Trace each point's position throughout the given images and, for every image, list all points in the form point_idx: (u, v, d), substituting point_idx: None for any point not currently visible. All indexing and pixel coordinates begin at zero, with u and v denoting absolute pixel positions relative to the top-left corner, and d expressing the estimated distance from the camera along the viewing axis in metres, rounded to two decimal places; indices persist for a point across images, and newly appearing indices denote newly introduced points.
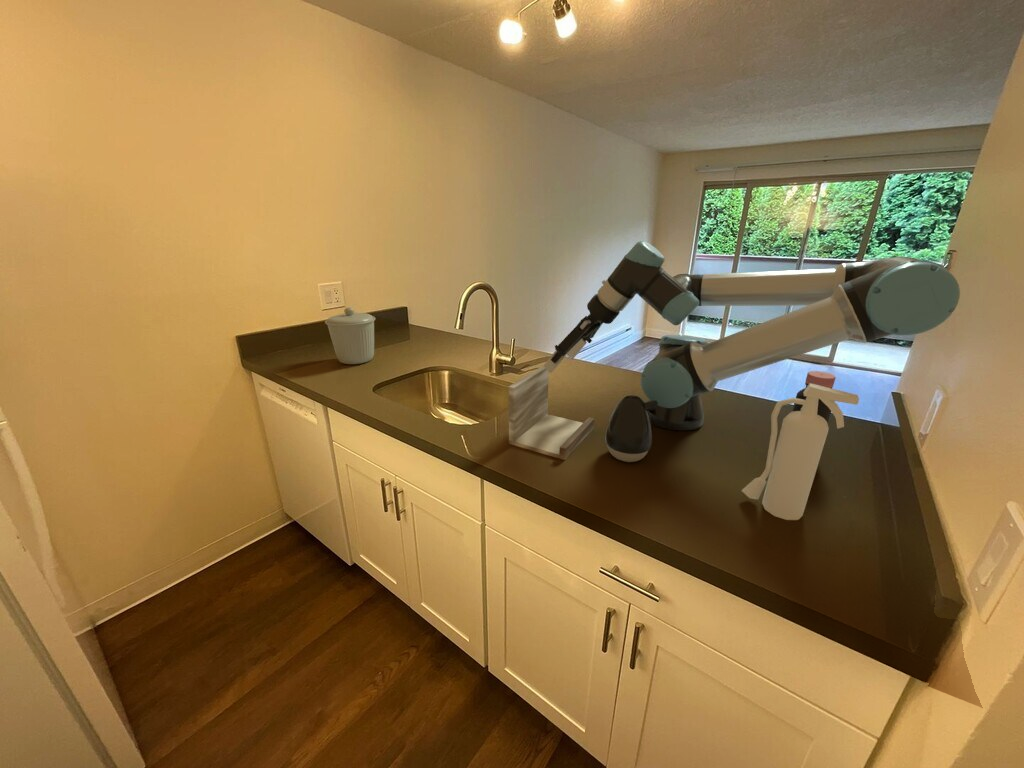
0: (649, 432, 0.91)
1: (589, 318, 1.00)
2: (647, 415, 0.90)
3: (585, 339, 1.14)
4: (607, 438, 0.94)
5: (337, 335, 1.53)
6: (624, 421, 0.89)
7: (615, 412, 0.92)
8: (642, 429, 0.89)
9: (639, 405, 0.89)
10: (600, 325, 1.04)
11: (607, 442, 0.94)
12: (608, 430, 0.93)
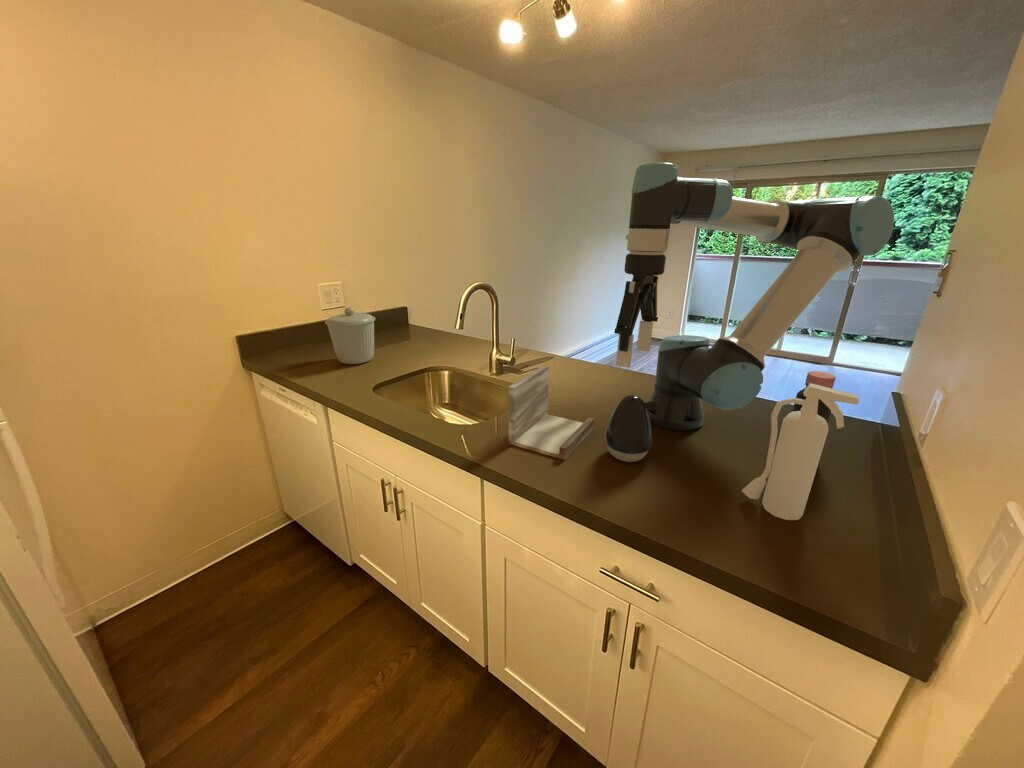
0: (649, 432, 0.91)
1: (635, 279, 0.80)
2: (647, 415, 0.90)
3: (649, 319, 0.91)
4: (607, 438, 0.94)
5: (337, 335, 1.53)
6: (624, 421, 0.89)
7: (615, 412, 0.92)
8: (642, 429, 0.89)
9: (639, 405, 0.89)
10: (654, 285, 0.83)
11: (607, 442, 0.94)
12: (608, 430, 0.93)
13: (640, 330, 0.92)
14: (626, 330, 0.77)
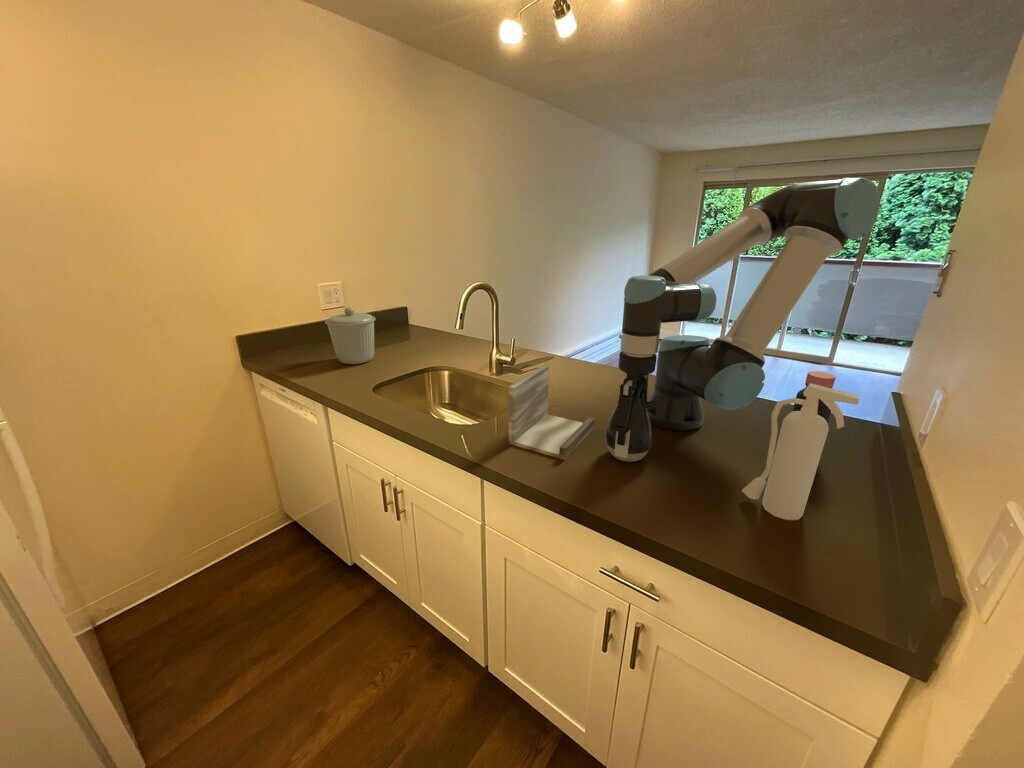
0: (649, 432, 0.91)
1: (628, 379, 0.86)
2: (647, 415, 0.90)
3: None
4: (607, 438, 0.94)
5: (337, 335, 1.53)
6: None
7: (615, 412, 0.92)
8: (642, 429, 0.89)
9: (639, 405, 0.89)
10: (646, 379, 0.90)
11: (607, 442, 0.94)
12: (608, 430, 0.93)
13: None
14: (623, 430, 0.85)
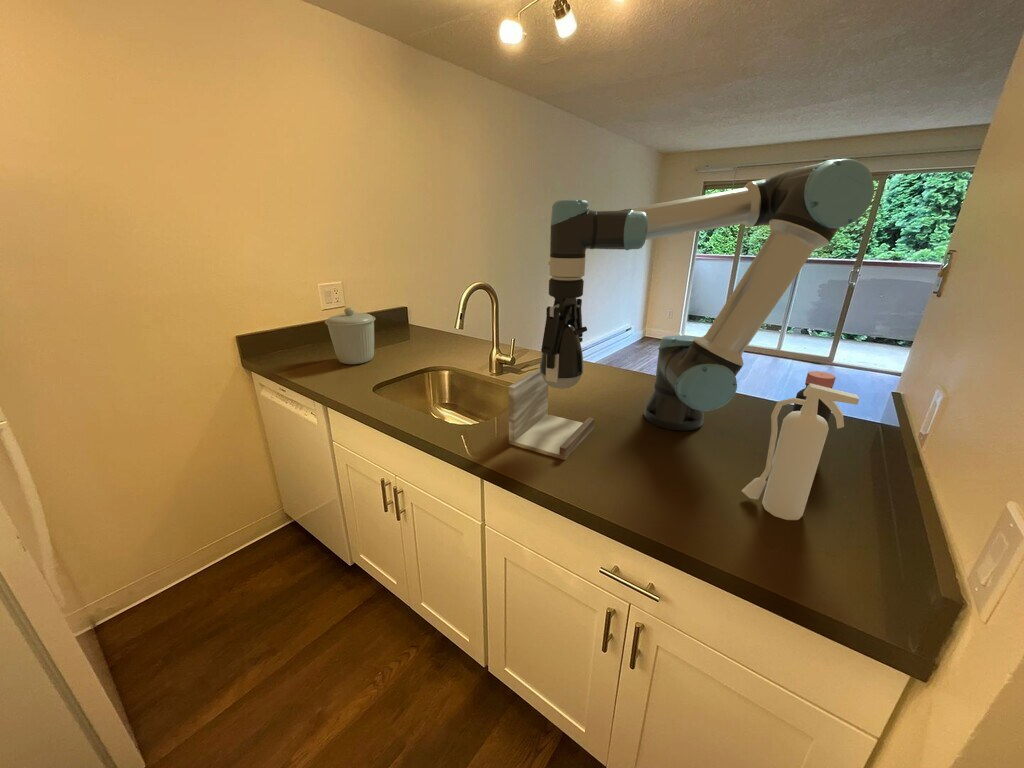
0: (579, 357, 0.94)
1: (555, 302, 0.89)
2: (577, 341, 0.93)
3: None
4: (540, 365, 0.97)
5: (337, 335, 1.53)
6: None
7: None
8: (571, 354, 0.92)
9: (568, 330, 0.92)
10: (575, 306, 0.93)
11: (540, 369, 0.97)
12: (541, 357, 0.97)
13: None
14: (550, 351, 0.88)
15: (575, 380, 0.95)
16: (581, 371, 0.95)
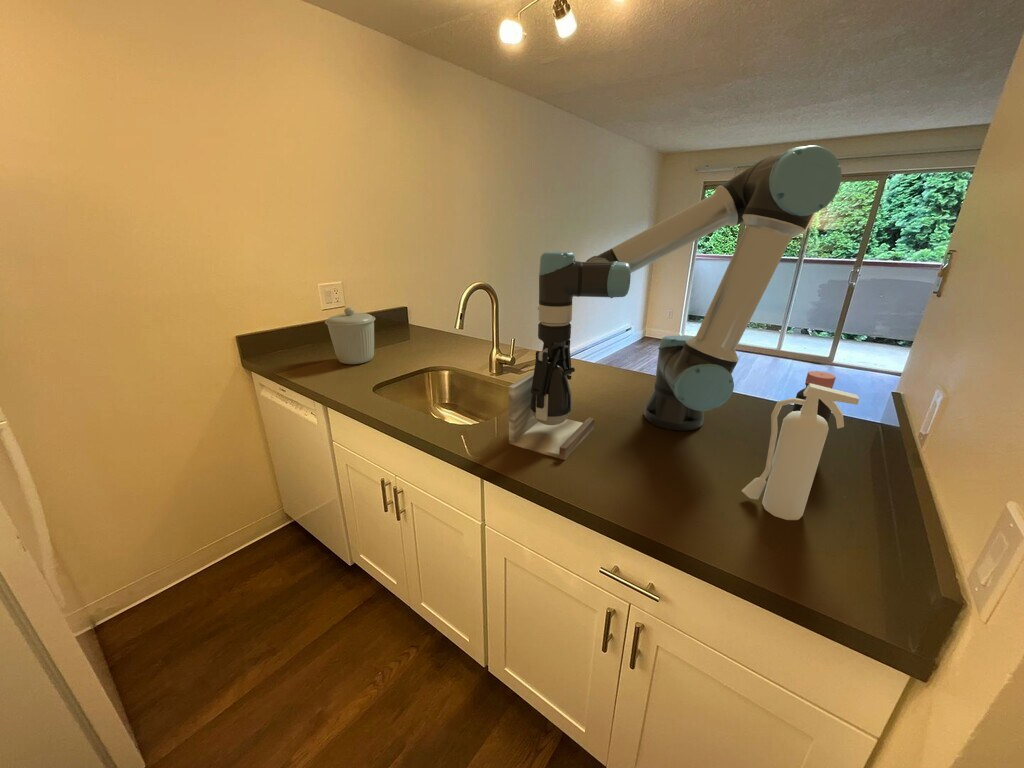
0: (567, 397, 0.99)
1: (544, 346, 0.94)
2: (565, 381, 0.98)
3: None
4: (531, 403, 1.02)
5: (337, 335, 1.53)
6: None
7: None
8: (560, 394, 0.97)
9: (556, 371, 0.97)
10: (564, 348, 0.98)
11: (531, 407, 1.02)
12: (532, 396, 1.01)
13: None
14: (539, 393, 0.93)
15: (564, 418, 1.00)
16: (569, 409, 1.00)
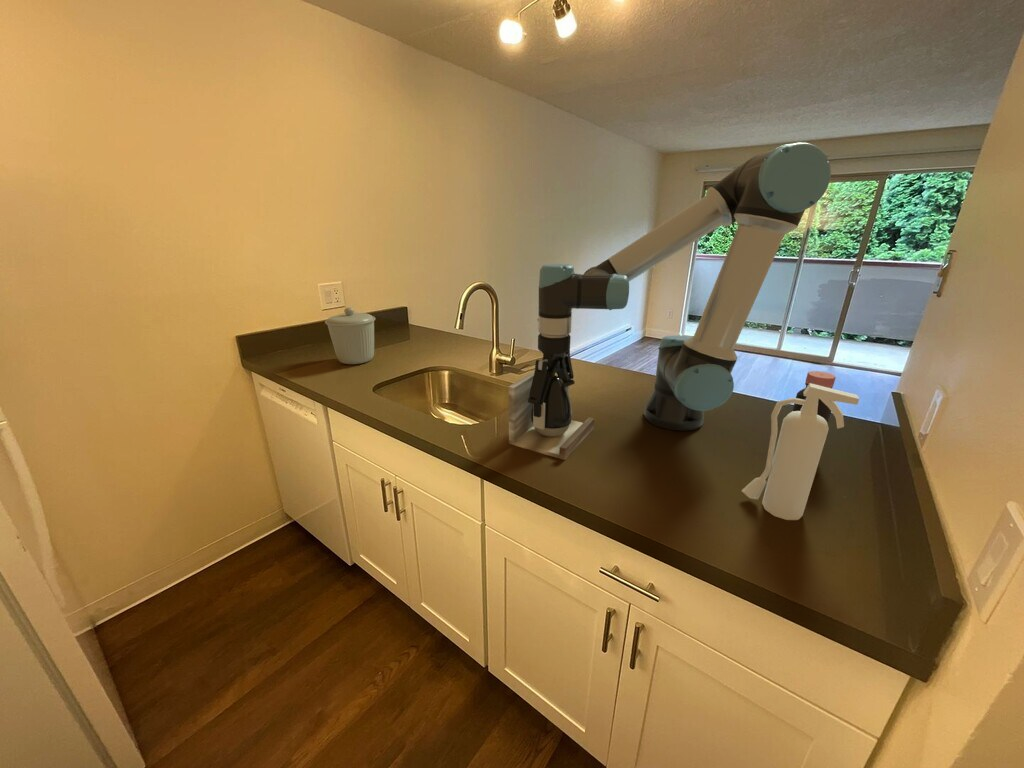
0: (567, 409, 1.00)
1: (544, 357, 0.95)
2: (565, 393, 0.99)
3: None
4: (531, 415, 1.03)
5: (337, 335, 1.53)
6: (544, 399, 0.99)
7: None
8: (560, 406, 0.98)
9: (556, 384, 0.98)
10: (563, 359, 0.99)
11: (531, 419, 1.03)
12: (532, 408, 1.02)
13: None
14: (536, 402, 0.92)
15: (564, 429, 1.01)
16: (569, 421, 1.01)
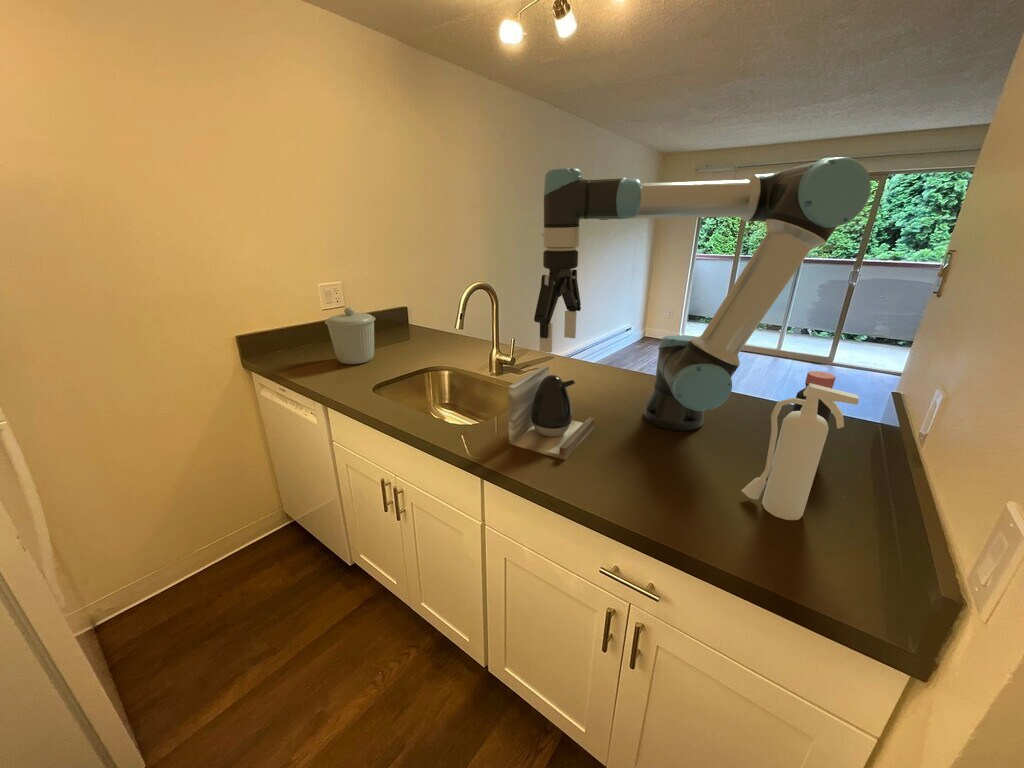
0: (567, 409, 1.00)
1: (551, 273, 0.89)
2: (565, 393, 0.99)
3: (573, 309, 1.01)
4: (531, 415, 1.03)
5: (337, 335, 1.53)
6: (544, 398, 0.99)
7: (537, 391, 1.01)
8: (560, 406, 0.98)
9: (556, 384, 0.98)
10: (570, 278, 0.93)
11: (531, 419, 1.03)
12: (532, 408, 1.03)
13: (566, 319, 1.02)
14: (543, 319, 0.86)
15: (564, 429, 1.01)
16: (569, 421, 1.01)
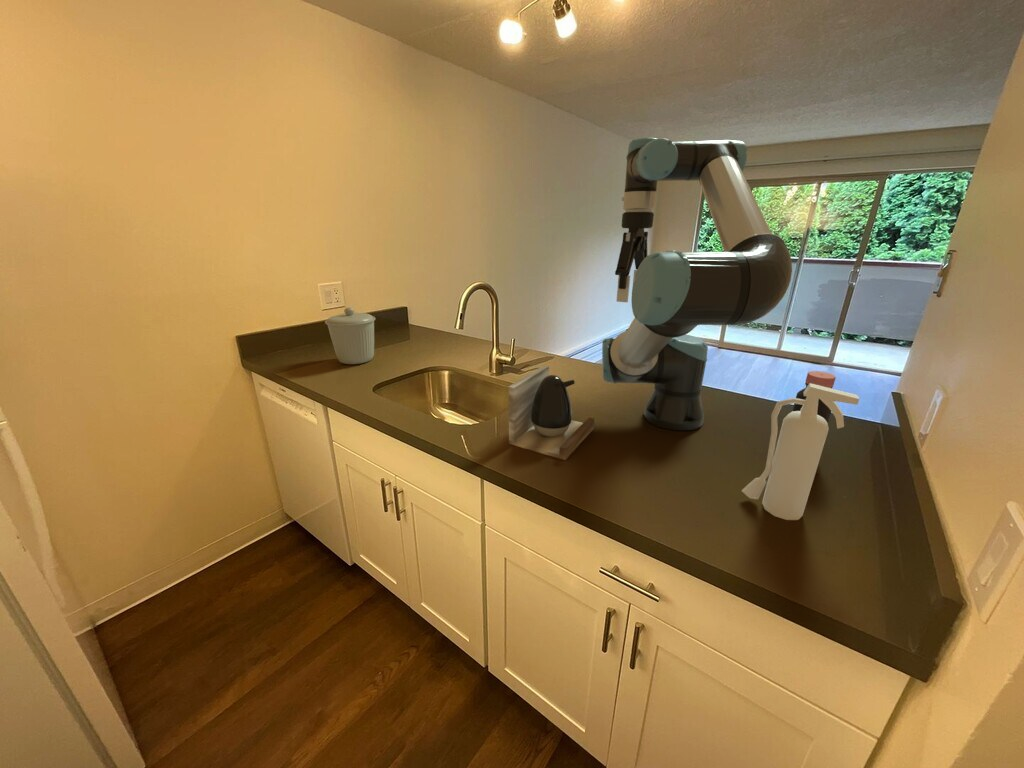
0: (567, 409, 1.00)
1: (630, 232, 1.02)
2: (565, 393, 0.99)
3: None
4: (531, 415, 1.03)
5: (337, 335, 1.53)
6: (544, 398, 0.99)
7: (537, 391, 1.01)
8: (560, 406, 0.98)
9: (556, 384, 0.98)
10: (645, 238, 1.05)
11: (531, 419, 1.03)
12: (532, 408, 1.03)
13: (634, 277, 1.14)
14: (624, 270, 0.99)
15: (564, 429, 1.01)
16: (569, 421, 1.01)
